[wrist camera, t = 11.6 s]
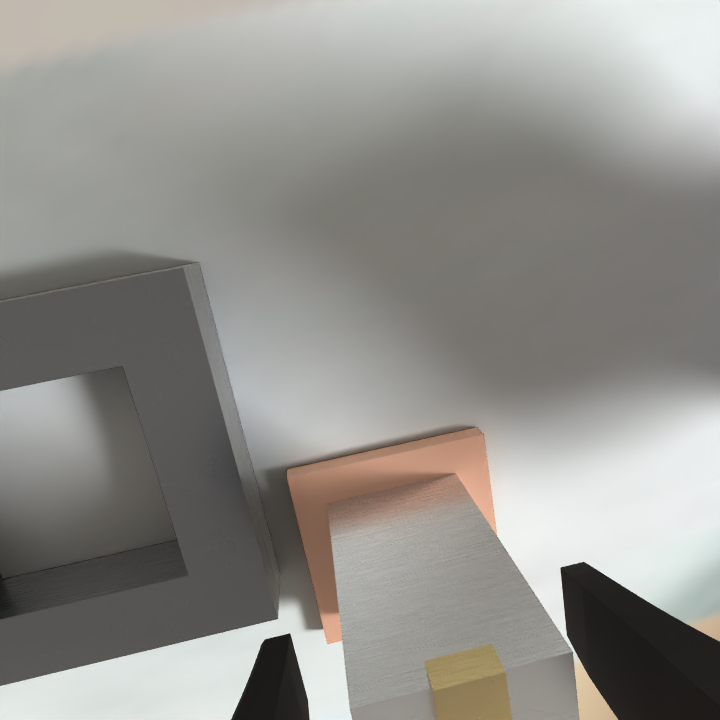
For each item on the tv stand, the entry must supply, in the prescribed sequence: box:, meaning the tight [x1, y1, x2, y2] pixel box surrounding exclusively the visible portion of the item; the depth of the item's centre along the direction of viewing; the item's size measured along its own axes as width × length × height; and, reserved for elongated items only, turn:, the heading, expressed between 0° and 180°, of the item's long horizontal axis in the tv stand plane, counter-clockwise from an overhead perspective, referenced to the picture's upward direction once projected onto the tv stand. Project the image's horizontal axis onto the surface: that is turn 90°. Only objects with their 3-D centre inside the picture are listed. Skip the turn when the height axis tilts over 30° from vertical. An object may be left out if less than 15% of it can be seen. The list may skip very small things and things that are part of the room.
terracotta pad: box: [287, 427, 497, 644], centre depth 17 cm, size 6×6×1 cm
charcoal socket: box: [0, 262, 280, 686], centre depth 14 cm, size 10×10×2 cm
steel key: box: [327, 473, 579, 720], centre depth 13 cm, size 5×4×8 cm
